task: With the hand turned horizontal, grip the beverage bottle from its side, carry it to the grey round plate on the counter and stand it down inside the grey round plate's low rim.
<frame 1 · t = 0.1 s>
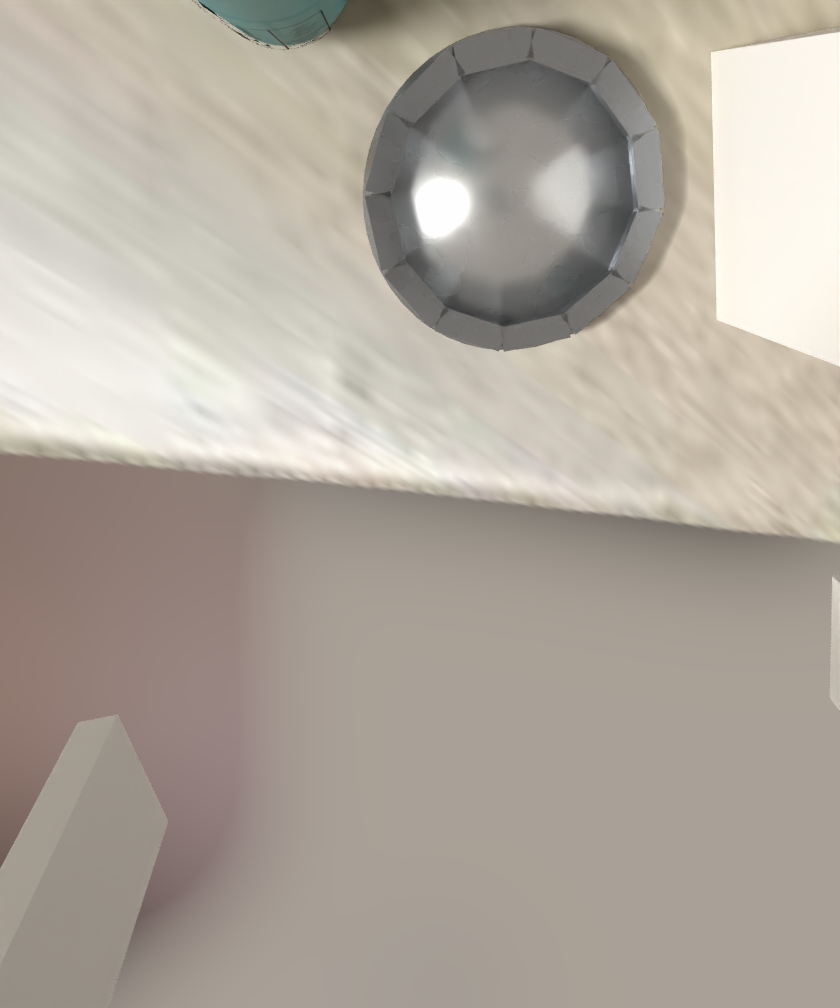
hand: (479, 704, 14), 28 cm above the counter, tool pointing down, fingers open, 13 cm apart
milk: (833, 171, 37), on the counter
grey round plate: (511, 200, 37), on the counter
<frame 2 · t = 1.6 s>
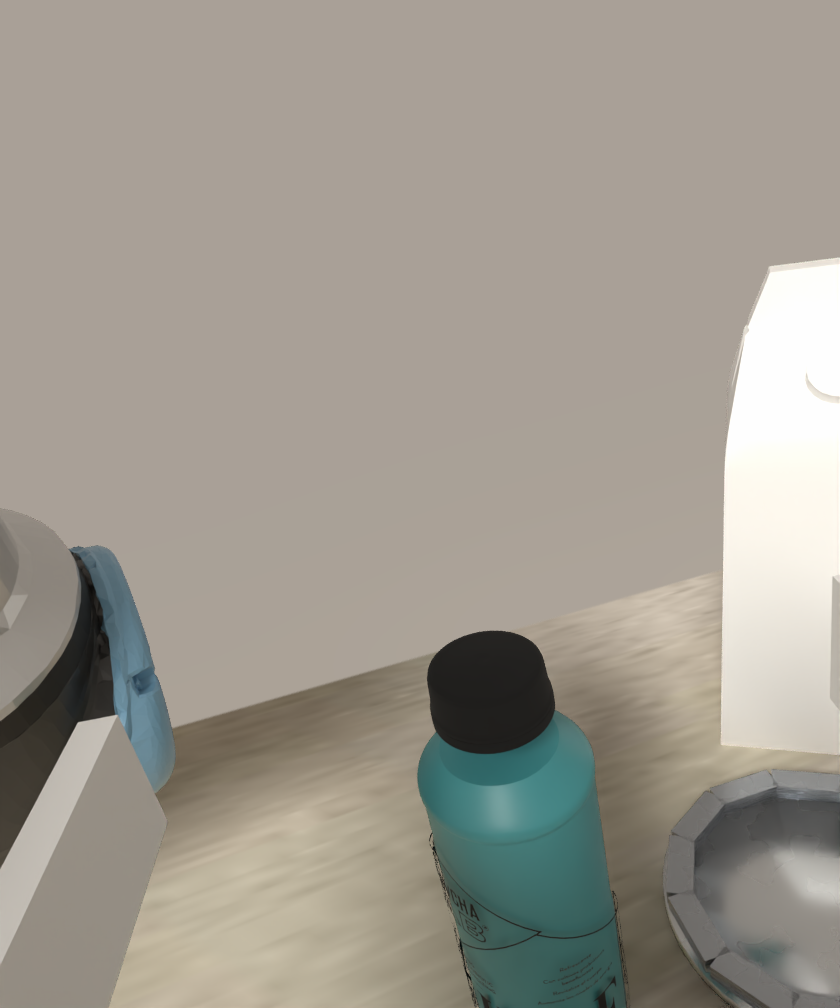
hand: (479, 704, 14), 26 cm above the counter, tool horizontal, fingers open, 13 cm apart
milk: (825, 689, 49), on the counter
grey round plate: (819, 900, 37), on the counter
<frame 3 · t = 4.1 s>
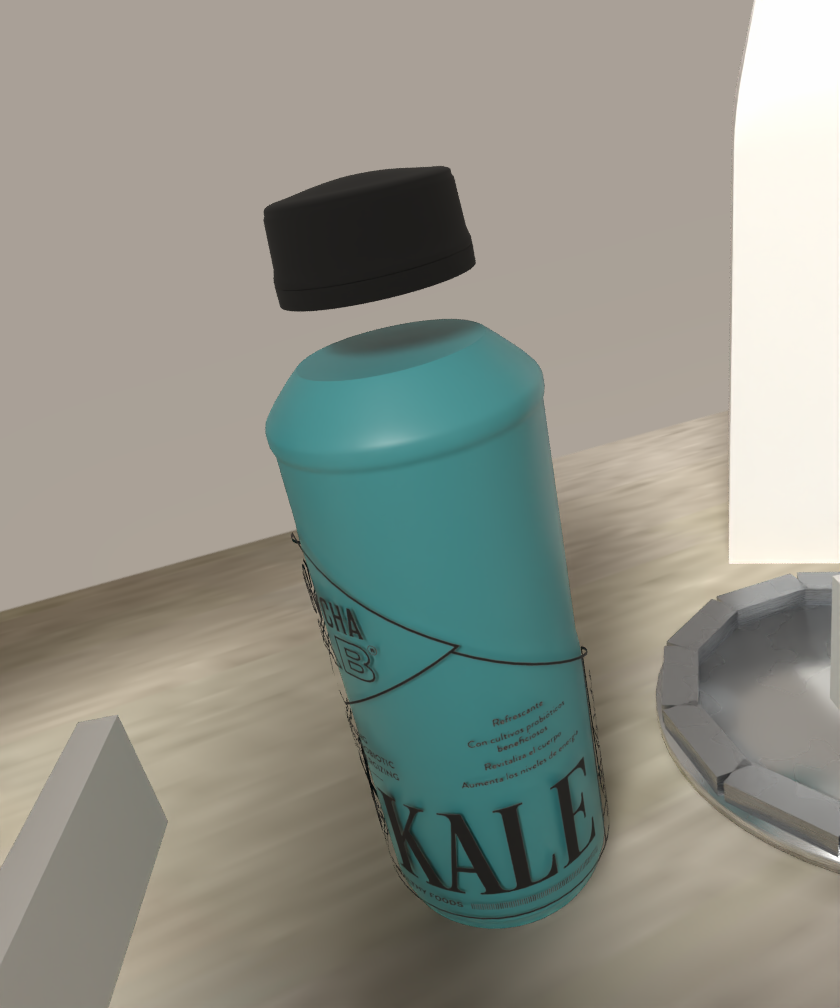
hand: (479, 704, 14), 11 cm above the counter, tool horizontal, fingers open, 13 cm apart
beverage bottle: (510, 878, 24), on the counter
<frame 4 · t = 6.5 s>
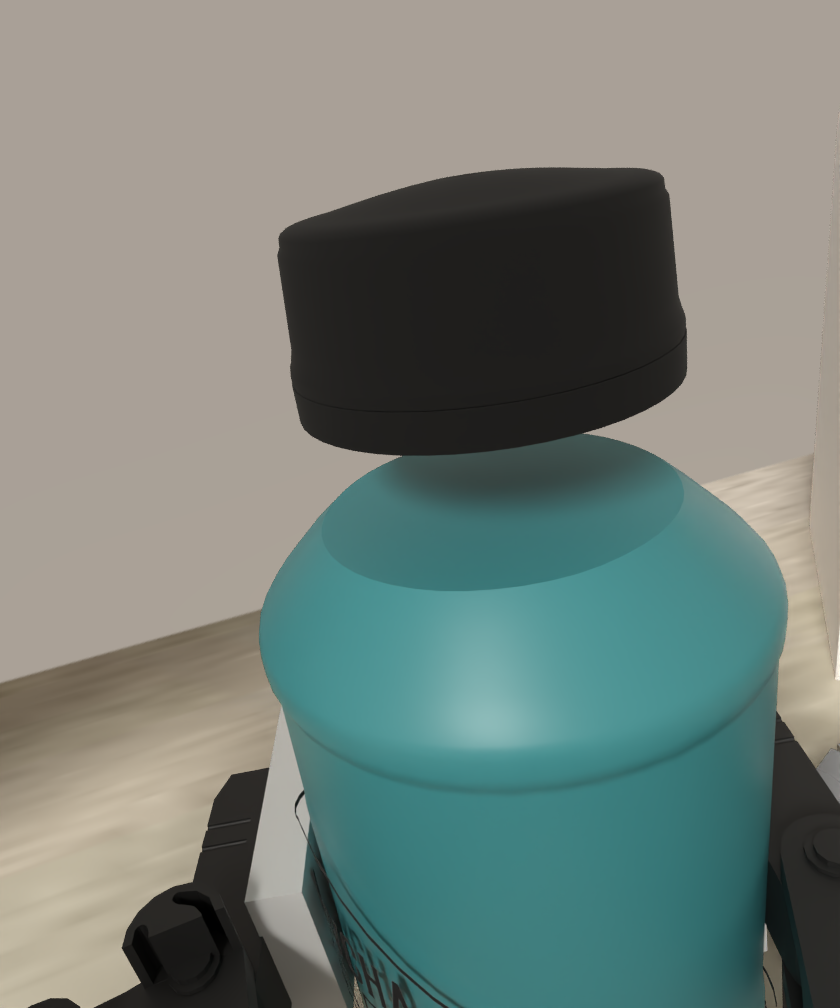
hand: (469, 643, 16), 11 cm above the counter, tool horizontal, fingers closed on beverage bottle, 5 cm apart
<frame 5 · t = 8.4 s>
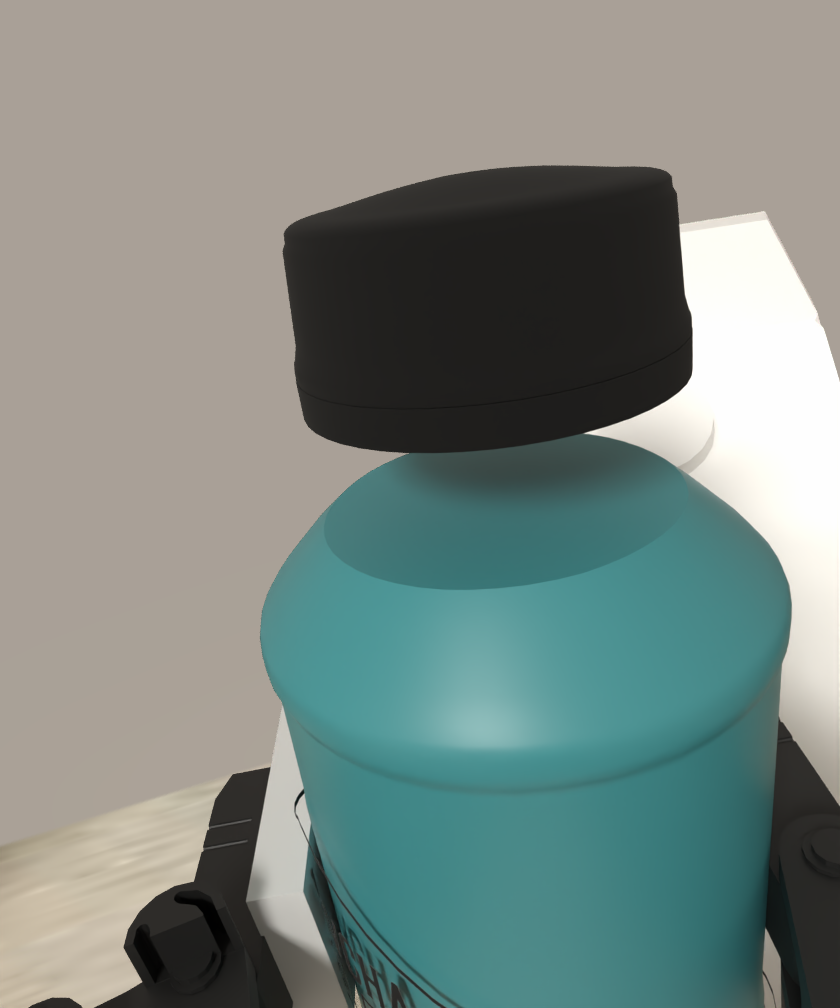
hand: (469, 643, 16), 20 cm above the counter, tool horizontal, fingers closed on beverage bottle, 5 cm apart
milk: (697, 878, 33), on the counter
when the fingers open (12 cm above the counter, at t = 10.6 s): beverage bottle stays where it is, resting on grey round plate.
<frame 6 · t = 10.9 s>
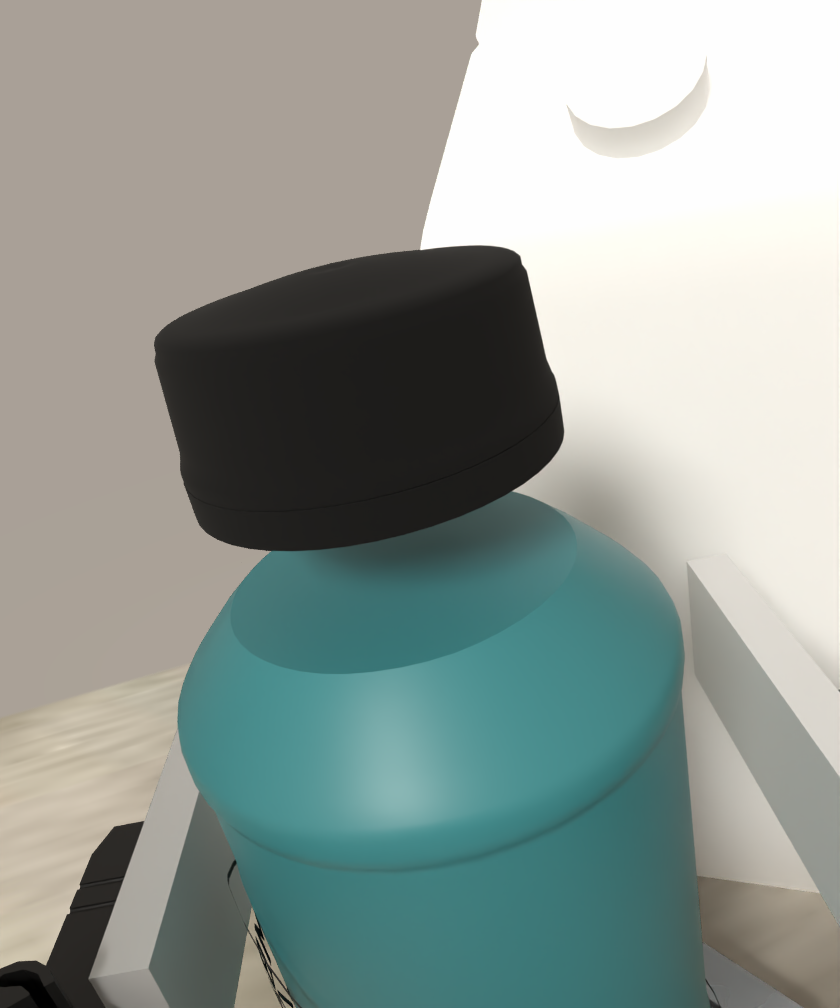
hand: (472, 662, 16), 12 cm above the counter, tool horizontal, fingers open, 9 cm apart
milk: (696, 743, 29), on the counter
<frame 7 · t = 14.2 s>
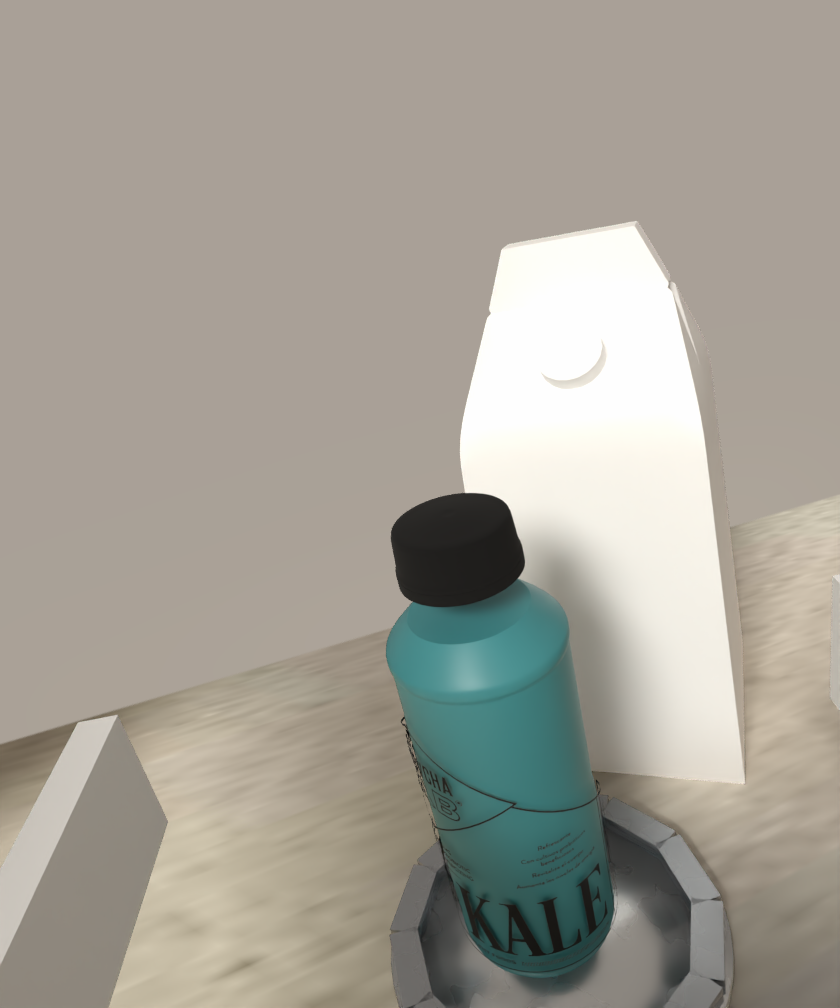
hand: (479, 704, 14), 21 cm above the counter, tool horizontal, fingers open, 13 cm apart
milk: (631, 702, 45), on the counter
beverage bottle: (546, 936, 33), resting on grey round plate
grey round plate: (555, 936, 33), on the counter
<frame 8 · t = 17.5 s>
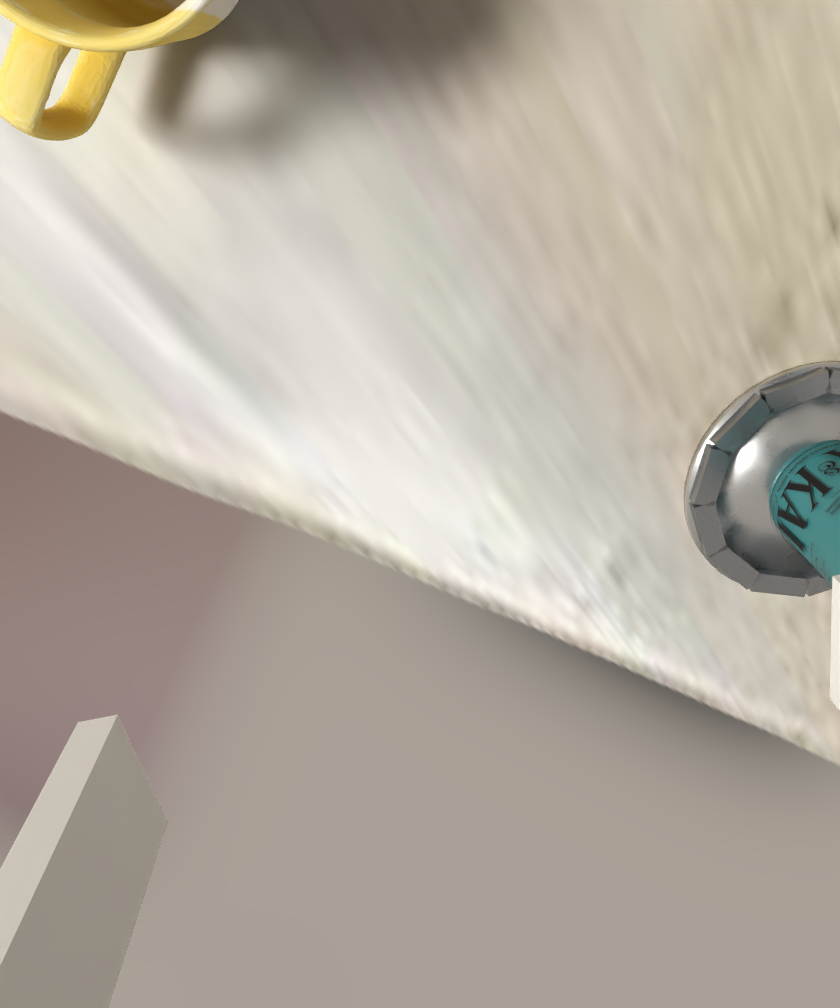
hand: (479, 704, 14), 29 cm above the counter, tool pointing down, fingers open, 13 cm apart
beverage bottle: (806, 478, 44), resting on grey round plate
grey round plate: (806, 481, 45), on the counter
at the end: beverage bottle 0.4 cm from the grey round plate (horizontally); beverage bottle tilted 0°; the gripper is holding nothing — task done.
